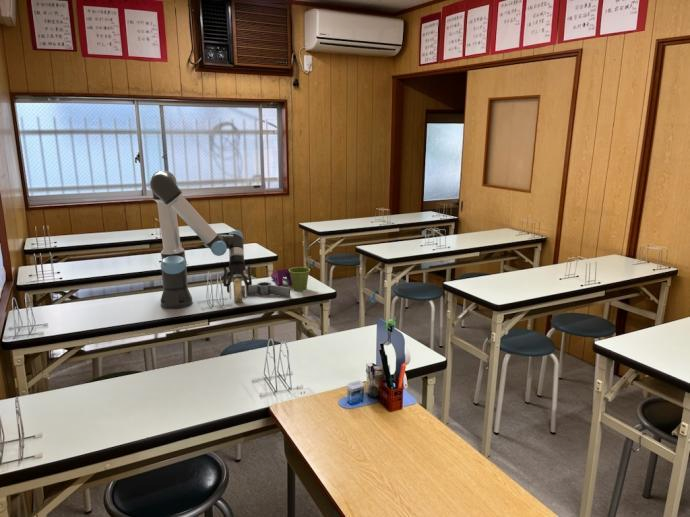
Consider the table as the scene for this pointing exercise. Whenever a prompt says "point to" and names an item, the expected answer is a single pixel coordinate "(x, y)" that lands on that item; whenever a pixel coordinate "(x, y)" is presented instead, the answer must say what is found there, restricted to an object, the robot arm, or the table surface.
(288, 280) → the purple irregular piece
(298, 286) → the plant pot
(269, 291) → the steel hinge
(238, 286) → the hinge pin
